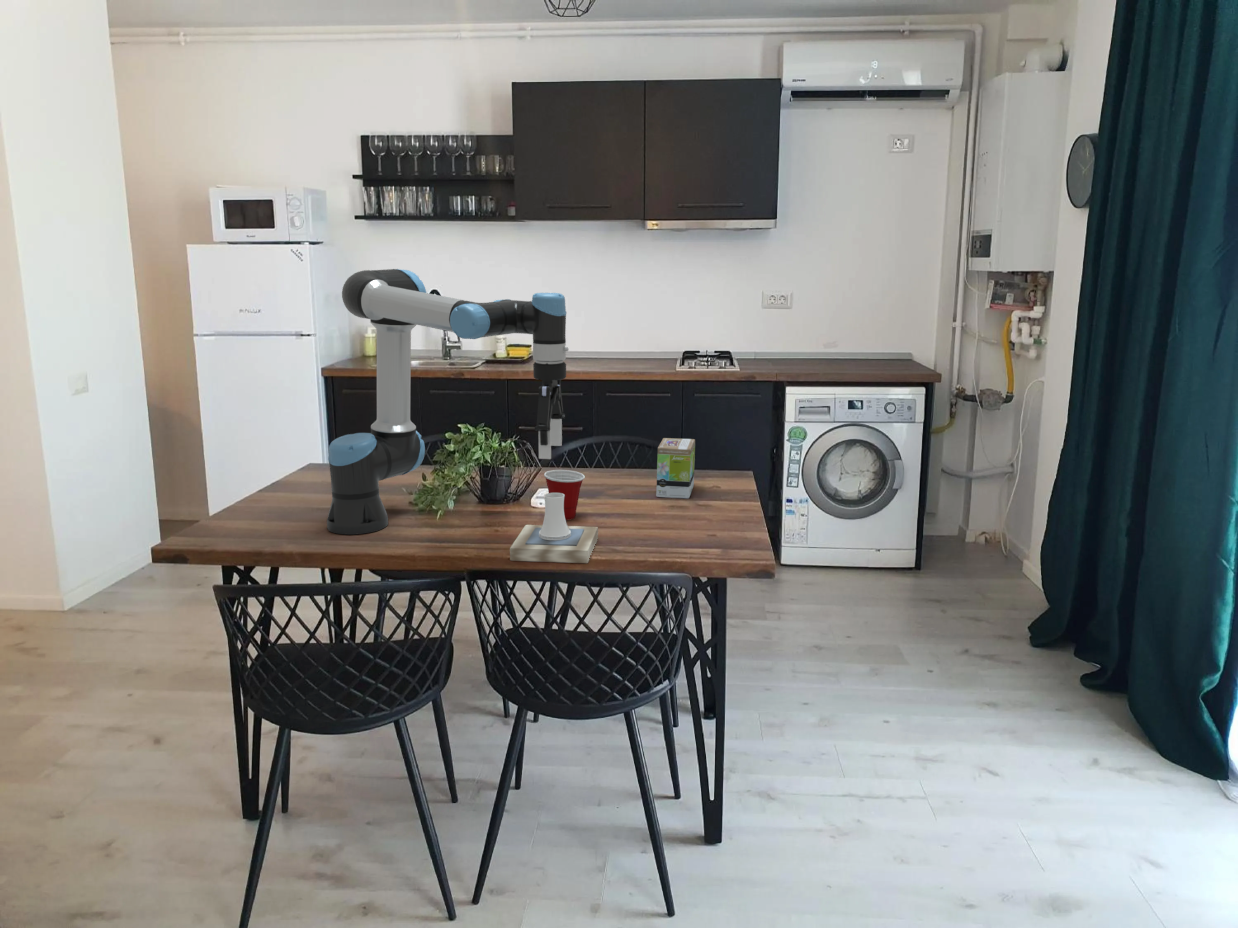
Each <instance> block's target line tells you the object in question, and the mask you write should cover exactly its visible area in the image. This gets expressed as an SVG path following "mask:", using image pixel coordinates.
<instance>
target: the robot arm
mask: <svg viewBox="0 0 1238 928" xmlns="http://www.w3.org/2000/svg"><path fill="white" fill-rule="evenodd" d="M425 286H426V285H424V282H423V281H422V280H421V279H420V276H419V275H417V274H416V273H415V272H413V271H411V270H408V269H400V268H390V269H389V268H388V269H374V270H372V269H371V270H369V269H368V270H367V269H365V270H360V271H357V272H355V273H353V274H352V275H350V276H349V277H348V278H347V279H346V281H344V284H343V287H342V288H341V289H342V292H341V298H342V302H343V305H344V306H345V308H346V309H347V311H349V313H351V314H352V315H353V316H355V317H358V318H361V319H368V320H370V322H369V323H370V324H371V325H372V326H373V327H374V328H375V330H376V420H374V421H373V423H372V424H371V425H370V432H356V433H350V434H349V433H348V434H344V435H342V436H339V437H336V438H335V439H333V440H332V441H331V442H330V444H329V446H328V459H327V460H328V463H329V473H330V475H329V476H330V485H331V498H332V499H331V503H330V507H329V510H328V515H327V519H326V527H327V530H328V531H329V532H331V533H334V534H338V535H361V534H362V535H364V534H369V533H374V532H377V531H380V530H383V529H385V528H386V527H387V526H388V525H389V517H388V513H387V510H386V507H385V506H384V504H383V501H382V499H381V496H380V485H379V482H380V481H383V480H386V479H390V478H395V477H397V476H403V475H406V474H408V473H410V472H413V471H414V470H416V469H418V468H419V467H420V466H421V465H422V463H423V460H424V458H425V452H426V447H425V442H424V441H425V440H423V439H422V435H421V434H420V432H418V430H417V425H415V423H414V422H412V420H411V384H412V383H411V374H412V373H411V372H412V371H411V370H412V369H411V368H412V367H411V362H412V361H411V360H412V357H411V356H412V352H411V351H412V349H411V348H412V330H413V329H414V328H415V327H416V326H421V327H426V328H430V329H431V328H432V329H436V330H440V331H446V332H451V333H454V334H455V335H456V336H457V337H458V338H460V339H462V340H463V339H466V340H477V339H481V338H486V337H494V336H495V337H496V336H502V335H512V334H525V335H532V360H533V361H534V362H533V371H532V372H533V378H534V379H535V380H538V381H541V382H542V384H541V386H538V399H537V400H538V403H537V412H536V413H537V415H536V426H534V431H536V432H537V433H538V437H537V439H538V459H539V460H551V459H552V447H553V446H554V447H562V446H563V445H562V444H563V435H562V434H563V431H562V430H563V424H562V423H563V421H562V420H563V419H566V414H565V413H564V406H563V405H564V404H563V396H562V388H561V382H562V380H565V379H566V377H567V363H566V362H565V360H566V359H567V358H566V357H567V356H566V355H567V352H569V347H567V344H566V343H567V340H566V339H567V338H566V331H567V330H566V329H567V328H566V326H567V325H566V324H567V309H566V298H565V295H563V294H562V293H560V292H536V293H534V294H532V299H531V300H530V301H529V300H515V299H514V300H513V299H508V298H507V299H497V300H496V299H495V300H493V301H491V302H490V301H489V302H475V301H472V300H471V301H470V300H465V299H461V298H460V299H459V298H454V297H448V296H444V295H439V294H433V293H428V292H427V289H426V287H425Z"/></svg>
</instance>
